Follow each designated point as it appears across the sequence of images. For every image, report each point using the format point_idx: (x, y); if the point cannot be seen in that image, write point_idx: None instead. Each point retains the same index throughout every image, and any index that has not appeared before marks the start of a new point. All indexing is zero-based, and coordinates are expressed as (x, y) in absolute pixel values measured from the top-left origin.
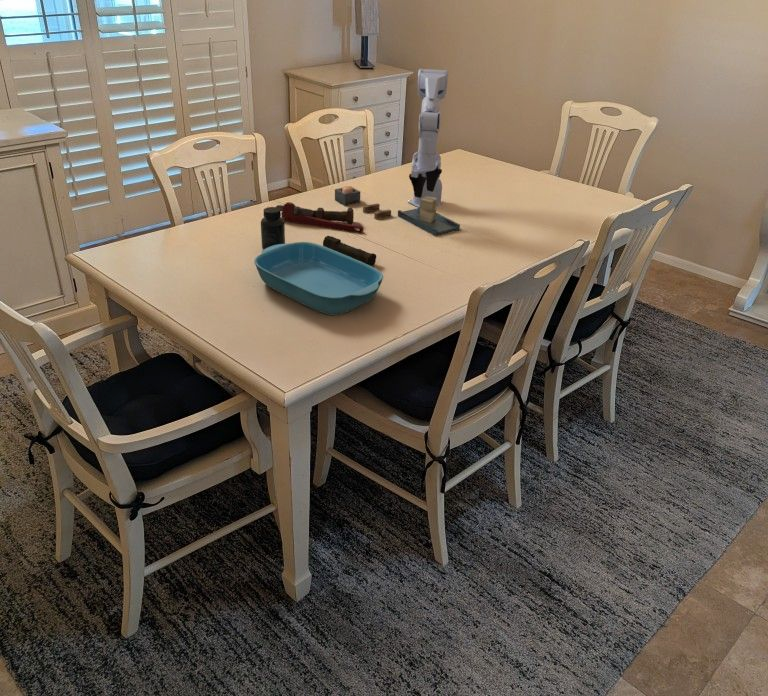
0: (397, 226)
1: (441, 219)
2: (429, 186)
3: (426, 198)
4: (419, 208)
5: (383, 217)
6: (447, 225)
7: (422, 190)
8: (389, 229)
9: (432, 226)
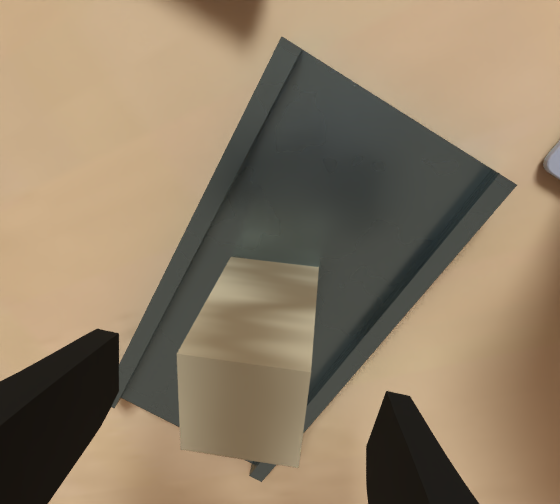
0: (100, 134)
1: (318, 372)
2: (385, 464)
3: (237, 391)
4: (476, 174)
5: None
6: None
7: (55, 480)
8: (17, 106)
9: None
